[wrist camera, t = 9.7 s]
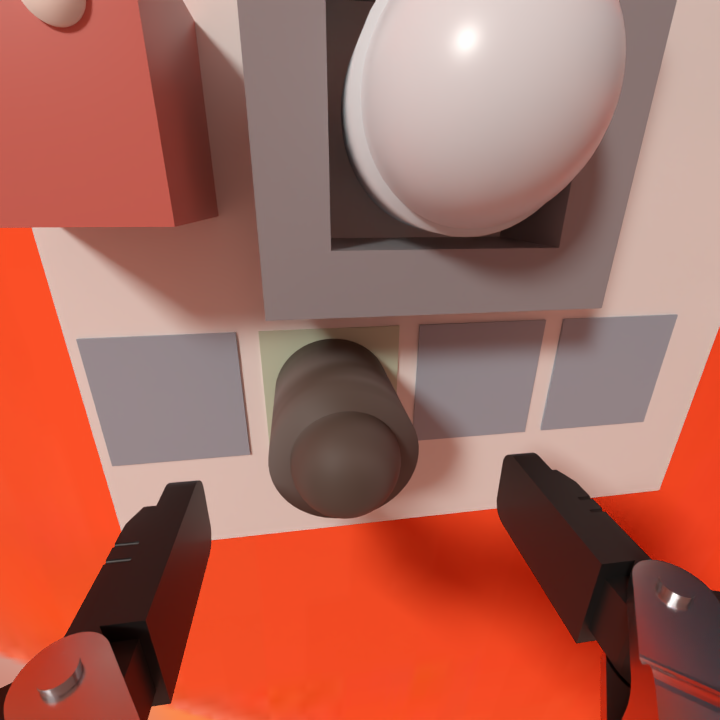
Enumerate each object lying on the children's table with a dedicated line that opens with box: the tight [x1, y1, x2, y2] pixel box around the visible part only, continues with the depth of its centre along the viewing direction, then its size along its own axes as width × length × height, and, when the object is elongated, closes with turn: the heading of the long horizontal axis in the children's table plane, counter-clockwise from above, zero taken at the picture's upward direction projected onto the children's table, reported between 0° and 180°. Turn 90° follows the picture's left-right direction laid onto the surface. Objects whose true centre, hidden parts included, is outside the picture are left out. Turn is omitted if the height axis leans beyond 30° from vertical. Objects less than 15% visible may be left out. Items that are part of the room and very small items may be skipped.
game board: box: [32, 0, 720, 540], centre depth 15 cm, size 26×22×1 cm
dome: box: [341, 0, 626, 237], centre depth 8 cm, size 6×6×5 cm
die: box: [0, 0, 218, 228], centre depth 9 cm, size 5×5×5 cm
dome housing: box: [237, 0, 677, 321], centre depth 11 cm, size 10×10×4 cm
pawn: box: [268, 338, 419, 519], centre depth 13 cm, size 4×4×6 cm
